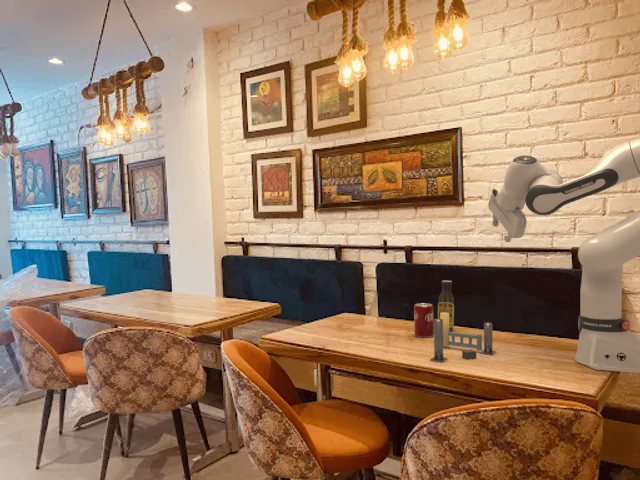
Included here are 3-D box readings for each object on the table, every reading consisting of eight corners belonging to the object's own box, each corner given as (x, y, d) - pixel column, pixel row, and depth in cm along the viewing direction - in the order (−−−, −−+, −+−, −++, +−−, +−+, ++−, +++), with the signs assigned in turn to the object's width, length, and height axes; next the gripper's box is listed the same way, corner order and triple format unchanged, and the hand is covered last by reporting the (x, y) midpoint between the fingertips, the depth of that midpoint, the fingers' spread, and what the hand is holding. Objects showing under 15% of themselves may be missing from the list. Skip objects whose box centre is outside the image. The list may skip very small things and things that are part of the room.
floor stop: (471, 356, 167) (471, 349, 167) (476, 358, 165) (476, 351, 165) (462, 357, 166) (462, 350, 166) (466, 359, 164) (466, 352, 164)
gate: (482, 349, 173) (482, 315, 172) (479, 351, 170) (479, 317, 170) (442, 343, 181) (442, 312, 180) (439, 345, 179) (438, 313, 178)
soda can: (412, 337, 195) (411, 305, 194) (417, 333, 201) (417, 302, 201) (430, 338, 191) (430, 306, 191) (436, 334, 198) (435, 303, 197)
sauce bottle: (436, 332, 202) (435, 281, 201) (438, 328, 208) (438, 279, 207) (453, 333, 200) (453, 282, 199) (455, 329, 206) (454, 280, 204)
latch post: (447, 359, 164) (446, 319, 164) (442, 362, 161) (441, 321, 160) (435, 357, 167) (434, 317, 166) (430, 360, 163) (429, 320, 163)
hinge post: (496, 352, 171) (496, 322, 170) (492, 355, 168) (492, 325, 167) (484, 351, 173) (483, 321, 173) (480, 353, 170) (480, 323, 169)
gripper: (535, 216, 168) (522, 250, 176) (506, 185, 184) (496, 217, 193) (517, 217, 167) (506, 251, 175) (490, 185, 183) (480, 217, 191)
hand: (500, 233), depth 184 cm, fingers open, 8 cm apart
